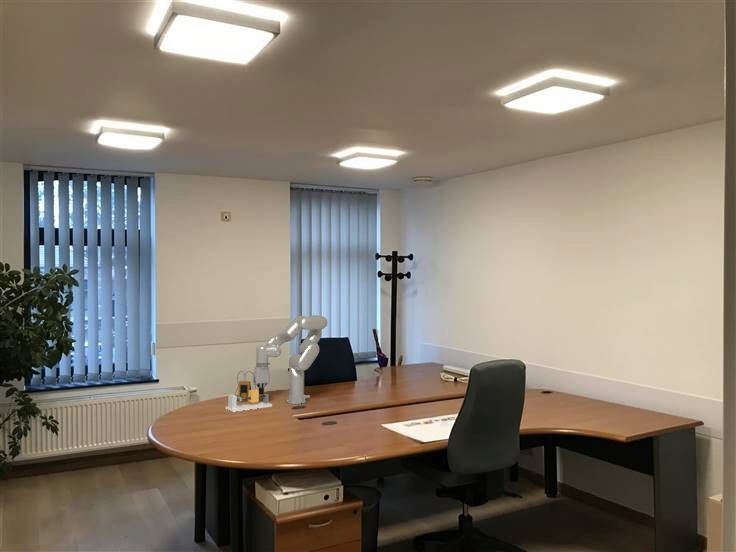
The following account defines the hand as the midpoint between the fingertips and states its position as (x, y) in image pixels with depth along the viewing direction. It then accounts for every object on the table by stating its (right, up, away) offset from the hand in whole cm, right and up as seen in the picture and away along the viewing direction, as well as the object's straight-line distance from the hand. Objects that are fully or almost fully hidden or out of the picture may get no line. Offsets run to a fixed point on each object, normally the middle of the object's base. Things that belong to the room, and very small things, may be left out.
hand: (261, 393), depth 370 cm
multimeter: (-13, -8, +17) cm, 22 cm away
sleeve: (-4, -4, -4) cm, 7 cm away
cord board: (-7, -8, -5) cm, 11 cm away
